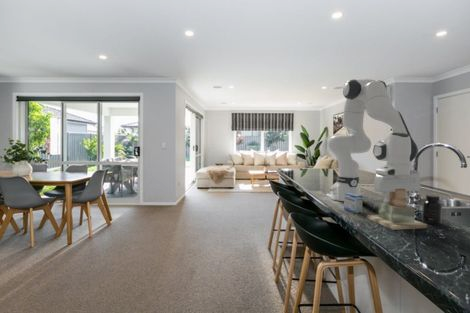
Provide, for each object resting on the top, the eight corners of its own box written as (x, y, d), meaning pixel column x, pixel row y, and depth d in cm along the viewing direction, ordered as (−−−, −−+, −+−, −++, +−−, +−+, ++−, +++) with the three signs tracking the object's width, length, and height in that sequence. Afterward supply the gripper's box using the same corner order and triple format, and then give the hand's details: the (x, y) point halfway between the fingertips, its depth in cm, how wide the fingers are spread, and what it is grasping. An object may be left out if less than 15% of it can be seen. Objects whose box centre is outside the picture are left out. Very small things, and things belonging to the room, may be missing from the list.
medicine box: (343, 209, 141) (344, 193, 141) (349, 208, 143) (350, 192, 142) (355, 213, 134) (356, 196, 133) (362, 212, 136) (362, 195, 135)
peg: (387, 209, 120) (389, 187, 120) (396, 209, 121) (397, 187, 120) (395, 212, 116) (396, 189, 115) (404, 211, 117) (405, 188, 116)
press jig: (367, 218, 126) (368, 201, 125) (397, 216, 128) (398, 200, 128) (392, 229, 110) (393, 210, 109) (427, 227, 112) (428, 209, 112)
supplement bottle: (424, 219, 125) (425, 193, 124) (442, 222, 120) (444, 195, 119) (420, 222, 120) (421, 195, 119) (439, 226, 115) (441, 198, 114)
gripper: (413, 169, 122) (411, 199, 123) (372, 169, 119) (370, 200, 120) (425, 170, 116) (423, 202, 117) (382, 171, 113) (380, 204, 114)
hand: (396, 201), depth 118 cm, fingers open, 8 cm apart
